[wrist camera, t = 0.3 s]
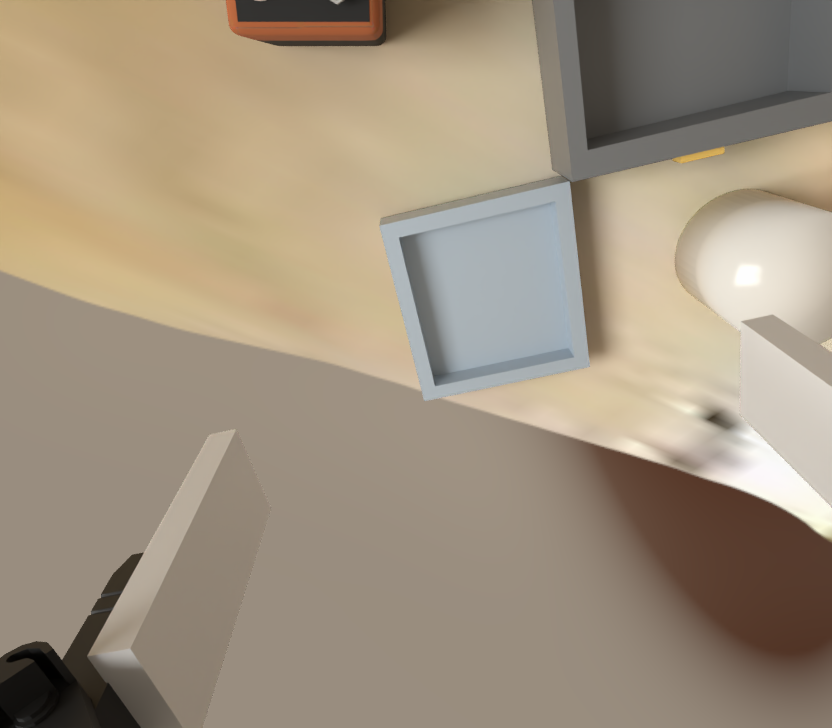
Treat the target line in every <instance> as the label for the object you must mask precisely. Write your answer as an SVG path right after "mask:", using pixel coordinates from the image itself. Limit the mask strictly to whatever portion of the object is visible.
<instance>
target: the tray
mask: <svg viewBox="0 0 832 728" xmlns="http://www.w3.org/2000/svg"><path fill="white" fill-rule="evenodd" d="M379 226H380V230H381V234H382V238H383V242H384V246H385V250H386V253H387V257H388V261H389V265H390V269H391V273H392V277H393V281H394V285H395V289H396V292H397V296H398V300H399V304H400V308H401V312H402V316H403V320H404V324H405V328H406V331H407V335H408V339H409V343H410V347H411V351H412V355H413V359H414V363H415V367H416V370H417V374H418V378H419V382H420V386H421V390H422V394H423V398H424V401H427V400H431V399H437V398H442V397H446V396H451V395H456V394H461V393H466V392H471V391H475V390H480V389H485V388H490V387H495V386H500V385H504V384H509V383H514V382H519V381H524V380H529V379H534V378H538V377H543V376H548V375H553V374H558V373H563V372H567V371H572V370H577V369H582V368H587V367H590V363H589V354H588V345H587V336H586V326H585V317H584V308H583V299H582V289H581V280H580V271H579V262H578V253H577V243H576V234H575V225H574V216H573V206H572V197H571V188H570V181H569V180H567V179H565V178H564V177H562V176H559V177H554V178H550V179H546V180H542V181H537V182H533V183H529V184H525V185H520V186H516V187H512V188H508V189H503V190H499V191H495V192H491V193H486V194H482V195H478V196H474V197H469V198H465V199H461V200H457V201H453V202H448V203H444V204H440V205H436V206H431V207H427V208H423V209H419V210H414V211H410V212H406V213H402V214H397V215H393V216H389V217H385V218H381V220H380V225H379Z"/></svg>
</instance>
